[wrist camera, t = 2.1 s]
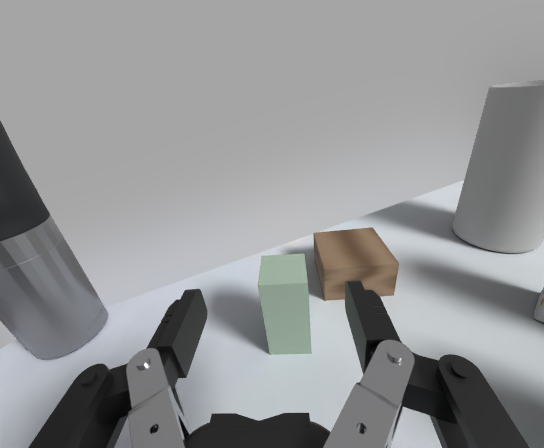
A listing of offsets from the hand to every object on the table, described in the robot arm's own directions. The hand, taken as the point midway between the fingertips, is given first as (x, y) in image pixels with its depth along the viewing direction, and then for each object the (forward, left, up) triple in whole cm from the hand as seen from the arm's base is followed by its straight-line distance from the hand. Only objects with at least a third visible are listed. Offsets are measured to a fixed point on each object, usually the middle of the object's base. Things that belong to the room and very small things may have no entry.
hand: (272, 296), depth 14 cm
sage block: (0, +11, -18) cm, 21 cm away
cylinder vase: (+38, +31, -18) cm, 52 cm away
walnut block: (+10, +22, -18) cm, 30 cm away
